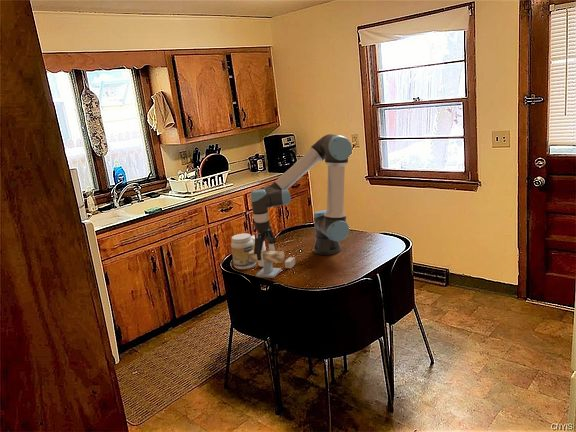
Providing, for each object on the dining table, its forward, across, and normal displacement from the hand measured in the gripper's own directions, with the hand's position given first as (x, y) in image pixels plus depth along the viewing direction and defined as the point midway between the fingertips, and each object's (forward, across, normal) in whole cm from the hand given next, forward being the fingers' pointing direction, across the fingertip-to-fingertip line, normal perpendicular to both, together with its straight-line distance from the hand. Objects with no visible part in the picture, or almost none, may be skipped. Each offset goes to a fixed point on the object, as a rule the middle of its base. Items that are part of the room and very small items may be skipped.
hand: (267, 260), depth 236 cm
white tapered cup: (+7, -22, -16) cm, 28 cm away
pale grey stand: (+7, 0, 0) cm, 7 cm away
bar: (0, 0, 0) cm, 0 cm away
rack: (+7, -11, 0) cm, 13 cm away
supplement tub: (+7, -8, -18) cm, 21 cm away
